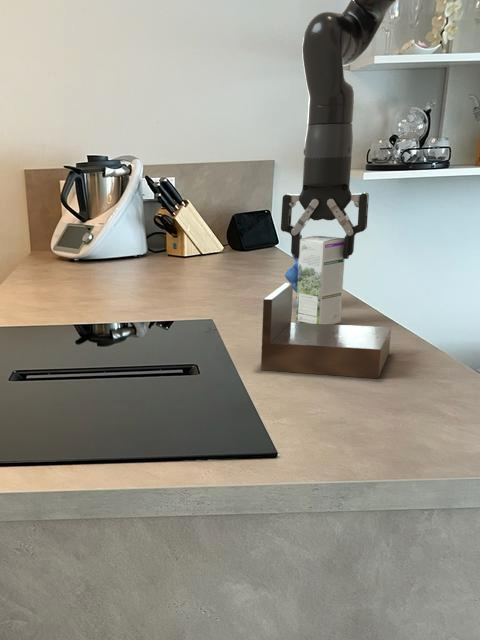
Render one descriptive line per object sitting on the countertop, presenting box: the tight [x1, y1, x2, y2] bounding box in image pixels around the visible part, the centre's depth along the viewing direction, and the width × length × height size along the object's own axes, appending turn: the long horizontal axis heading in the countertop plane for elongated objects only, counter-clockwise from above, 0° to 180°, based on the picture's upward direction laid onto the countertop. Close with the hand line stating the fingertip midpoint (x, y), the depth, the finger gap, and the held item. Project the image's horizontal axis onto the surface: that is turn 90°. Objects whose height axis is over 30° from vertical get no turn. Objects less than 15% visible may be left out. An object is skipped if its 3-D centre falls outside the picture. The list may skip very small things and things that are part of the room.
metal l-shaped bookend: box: [260, 282, 392, 379], centre depth 112 cm, size 16×14×10 cm
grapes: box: [284, 254, 299, 300], centre depth 151 cm, size 12×7×12 cm, turn 9°
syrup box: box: [295, 235, 346, 325], centre depth 136 cm, size 6×6×14 cm
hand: (321, 258), depth 134 cm, fingers closed on syrup box, 7 cm apart
